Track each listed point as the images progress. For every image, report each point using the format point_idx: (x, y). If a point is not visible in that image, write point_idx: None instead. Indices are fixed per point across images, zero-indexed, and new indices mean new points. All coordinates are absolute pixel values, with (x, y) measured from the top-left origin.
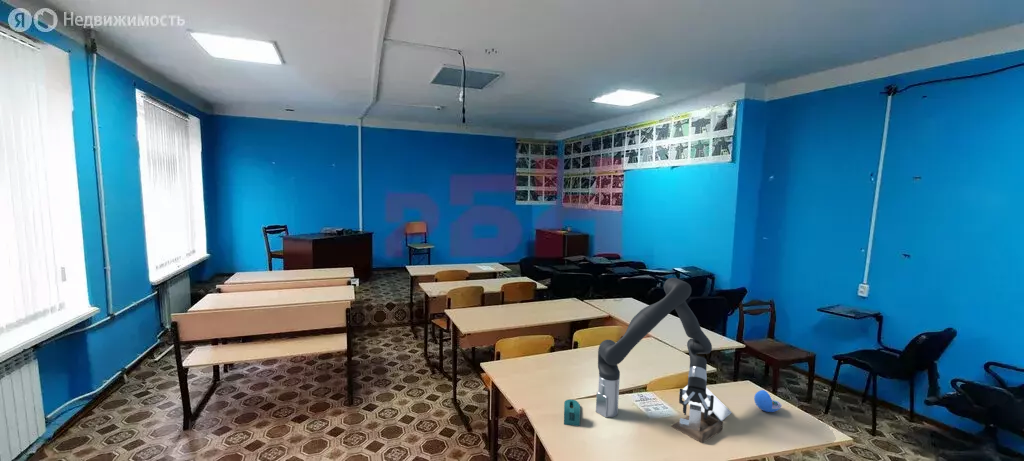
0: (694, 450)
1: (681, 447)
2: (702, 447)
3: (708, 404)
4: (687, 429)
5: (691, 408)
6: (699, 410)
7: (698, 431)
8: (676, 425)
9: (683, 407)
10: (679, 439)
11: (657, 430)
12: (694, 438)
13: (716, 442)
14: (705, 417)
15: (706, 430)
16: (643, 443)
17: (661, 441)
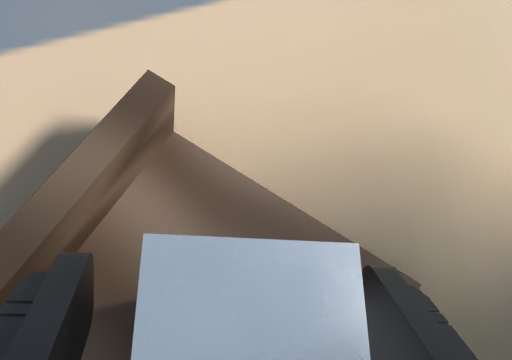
0: (212, 22)
1: (299, 29)
2: None
3: None
4: None
5: (333, 268)
6: (176, 257)
7: None
8: None
9: (454, 334)
10: (322, 114)
11: (486, 171)
12: (210, 157)
13: (4, 185)
14: (67, 255)
15: (91, 149)
16: (504, 5)
17: (425, 52)
